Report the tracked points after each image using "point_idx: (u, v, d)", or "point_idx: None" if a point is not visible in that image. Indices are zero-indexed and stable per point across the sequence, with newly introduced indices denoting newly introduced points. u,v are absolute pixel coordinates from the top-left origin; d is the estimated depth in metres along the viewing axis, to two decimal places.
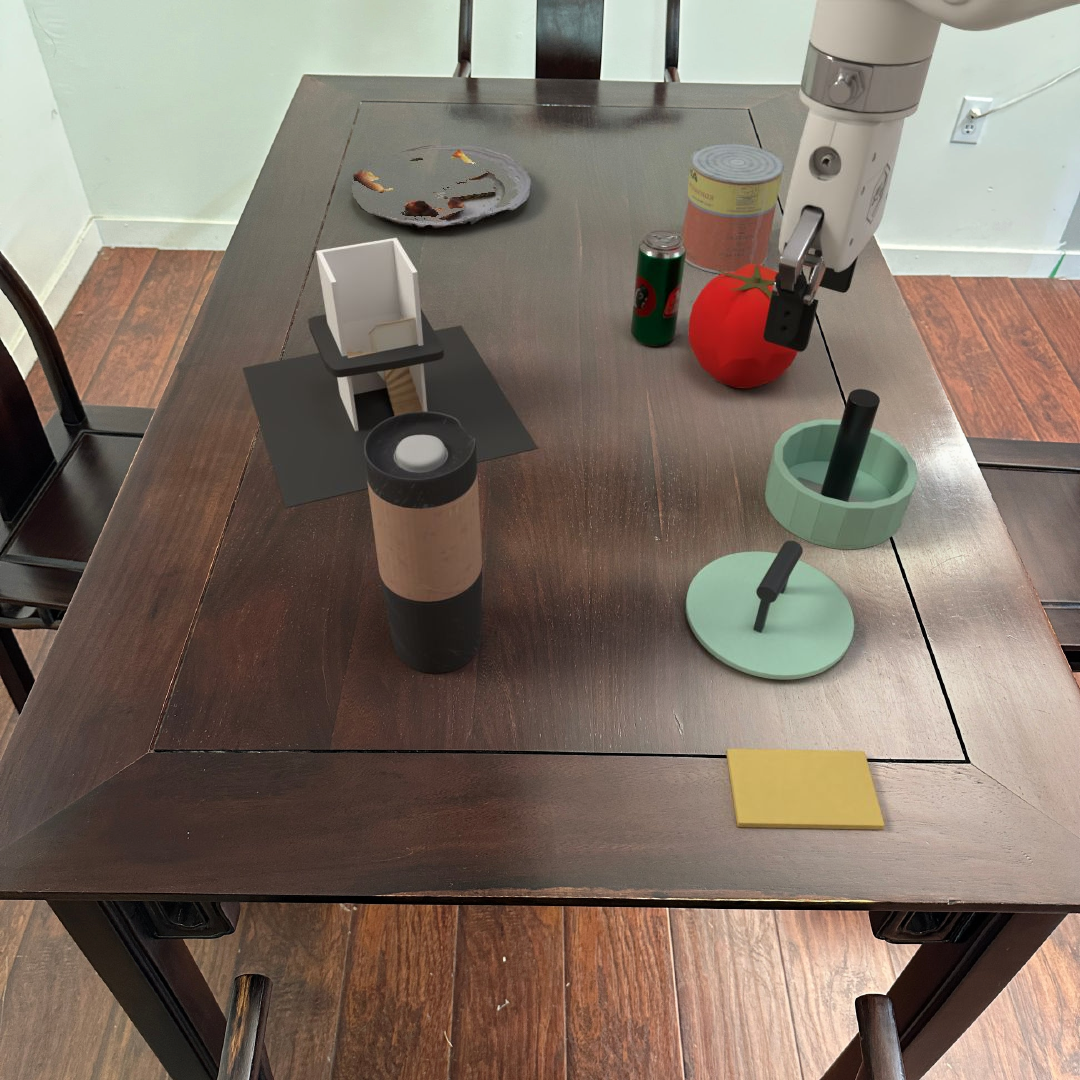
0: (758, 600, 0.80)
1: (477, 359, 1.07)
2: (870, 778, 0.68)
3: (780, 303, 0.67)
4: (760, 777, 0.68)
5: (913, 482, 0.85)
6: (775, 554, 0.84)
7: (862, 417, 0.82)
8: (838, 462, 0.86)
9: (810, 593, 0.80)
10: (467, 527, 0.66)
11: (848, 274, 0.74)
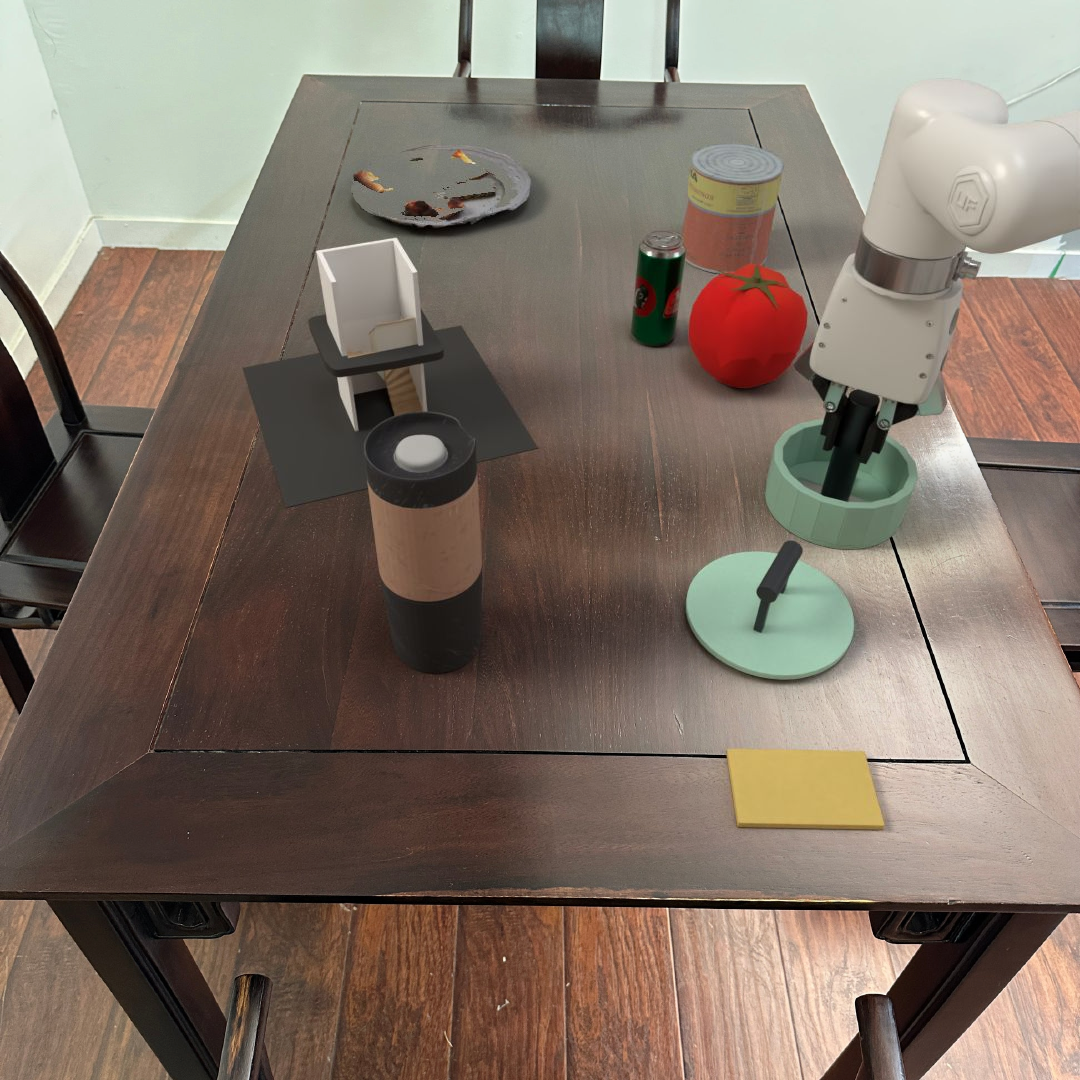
0: (758, 600, 0.80)
1: (477, 359, 1.07)
2: (870, 778, 0.68)
3: (886, 430, 0.82)
4: (760, 777, 0.68)
5: (913, 482, 0.85)
6: (775, 554, 0.84)
7: (863, 417, 0.82)
8: (838, 462, 0.86)
9: (810, 593, 0.80)
10: (467, 527, 0.66)
11: None
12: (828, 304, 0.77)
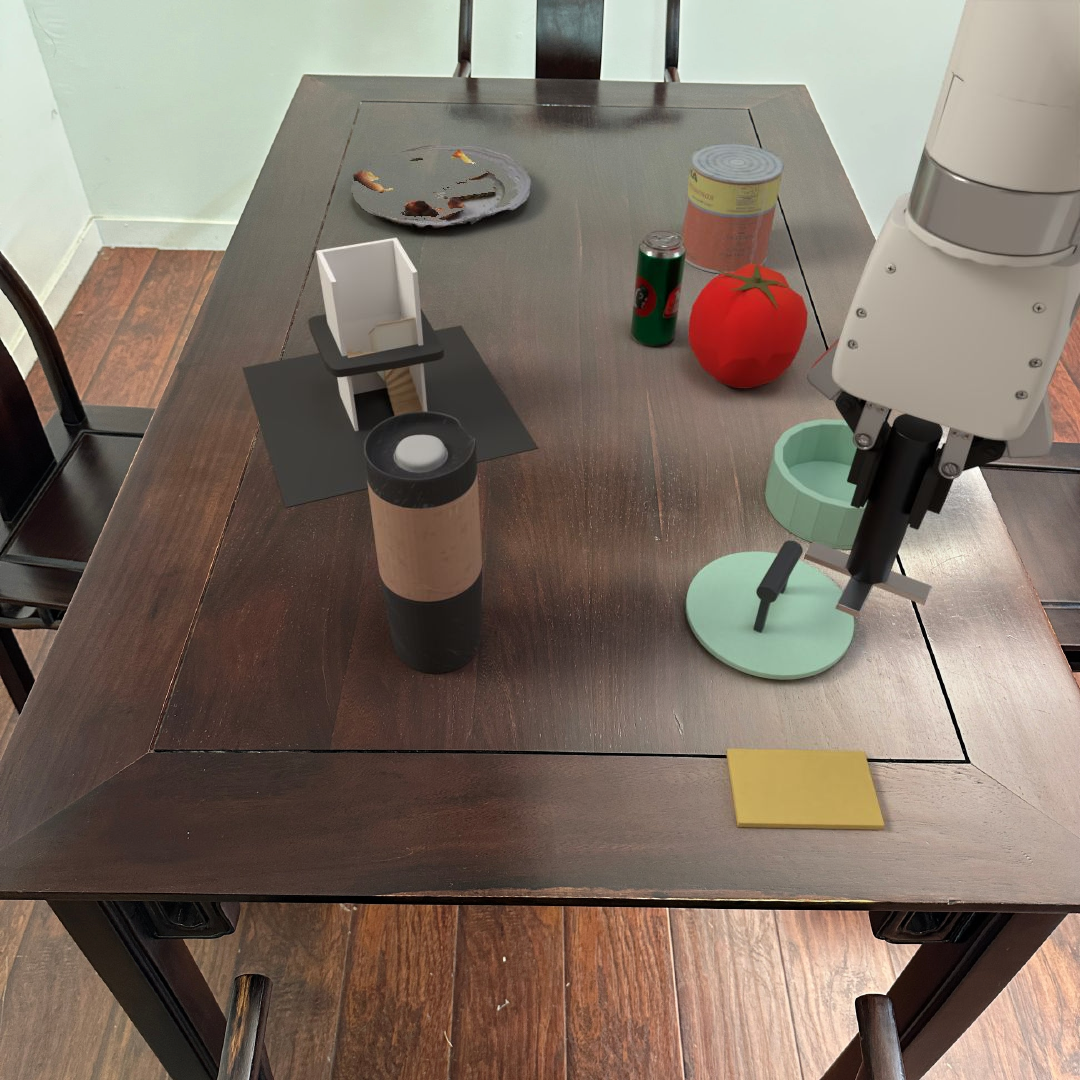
0: (758, 600, 0.80)
1: (477, 359, 1.07)
2: (870, 778, 0.68)
3: None
4: (760, 777, 0.68)
5: None
6: (775, 554, 0.84)
7: (915, 458, 0.52)
8: (874, 525, 0.56)
9: (810, 593, 0.80)
10: (467, 527, 0.66)
11: None
12: (864, 277, 0.47)
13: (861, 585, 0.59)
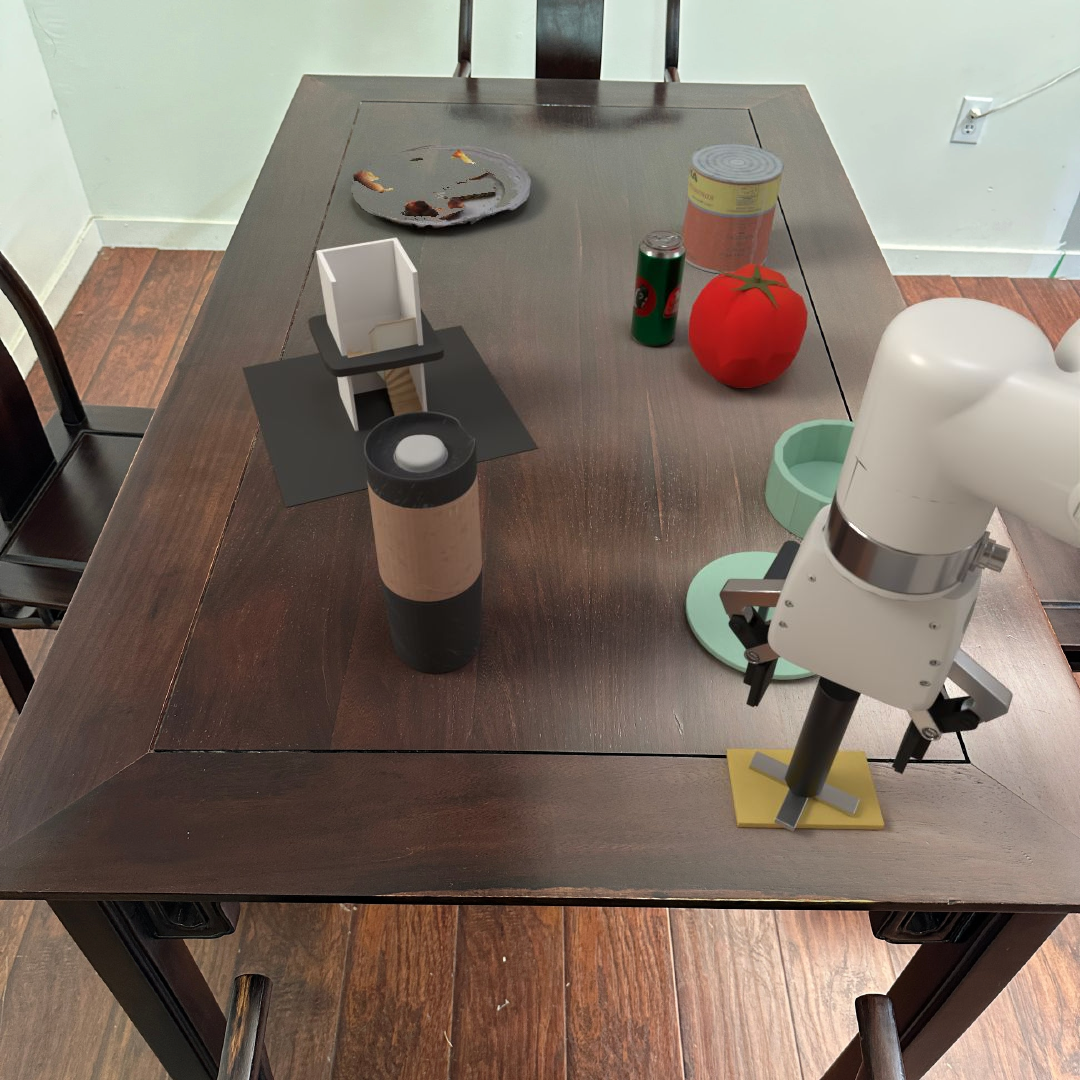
0: None
1: (477, 359, 1.07)
2: (870, 778, 0.68)
3: None
4: (760, 777, 0.68)
5: None
6: (775, 554, 0.84)
7: (838, 712, 0.60)
8: (806, 755, 0.64)
9: None
10: (467, 527, 0.66)
11: (776, 664, 0.64)
12: (790, 578, 0.54)
13: (797, 799, 0.67)
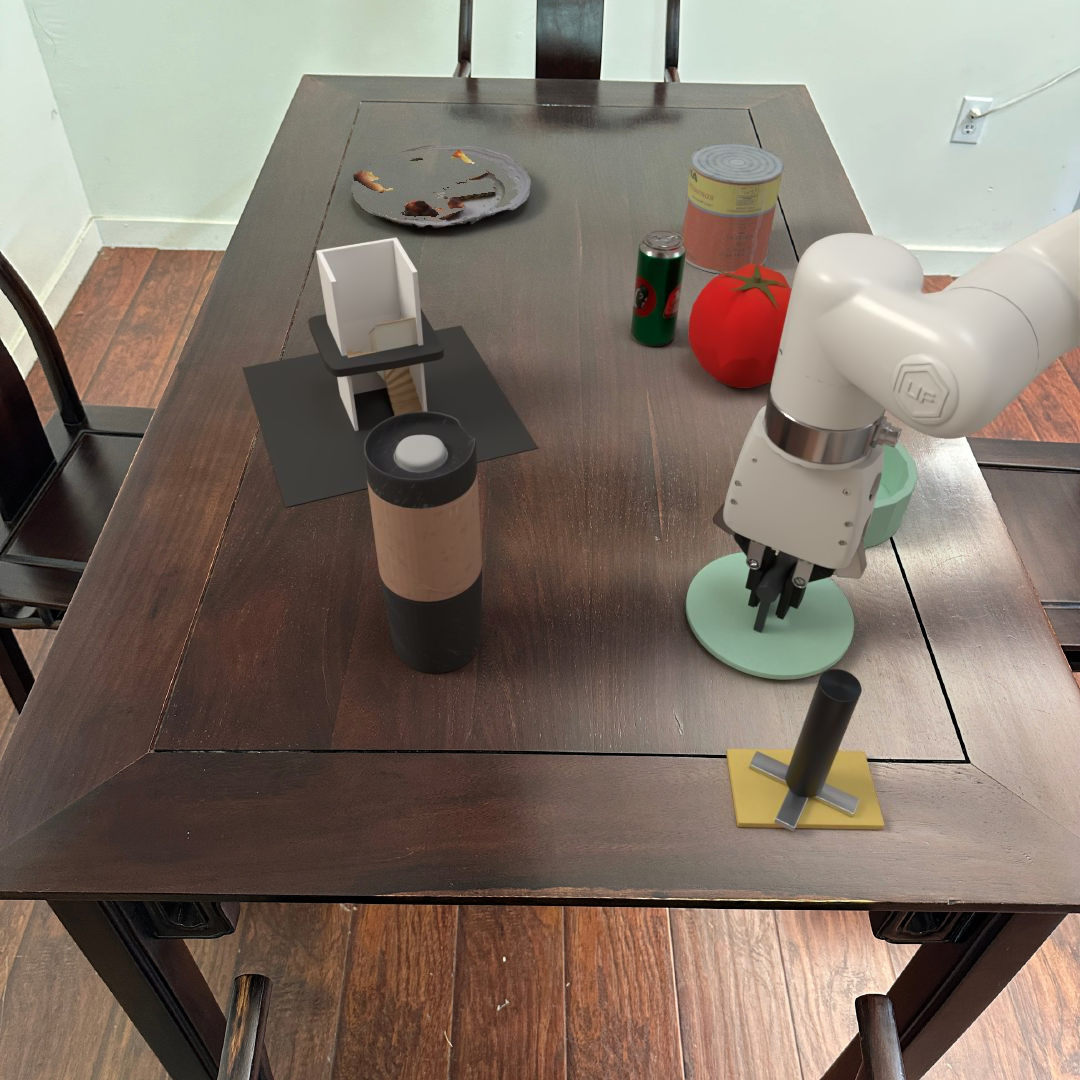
0: None
1: (477, 359, 1.07)
2: (870, 778, 0.68)
3: None
4: (760, 777, 0.68)
5: (913, 482, 0.85)
6: None
7: (838, 712, 0.60)
8: (806, 755, 0.64)
9: (810, 593, 0.80)
10: (467, 527, 0.66)
11: None
12: (738, 461, 0.69)
13: (797, 799, 0.67)
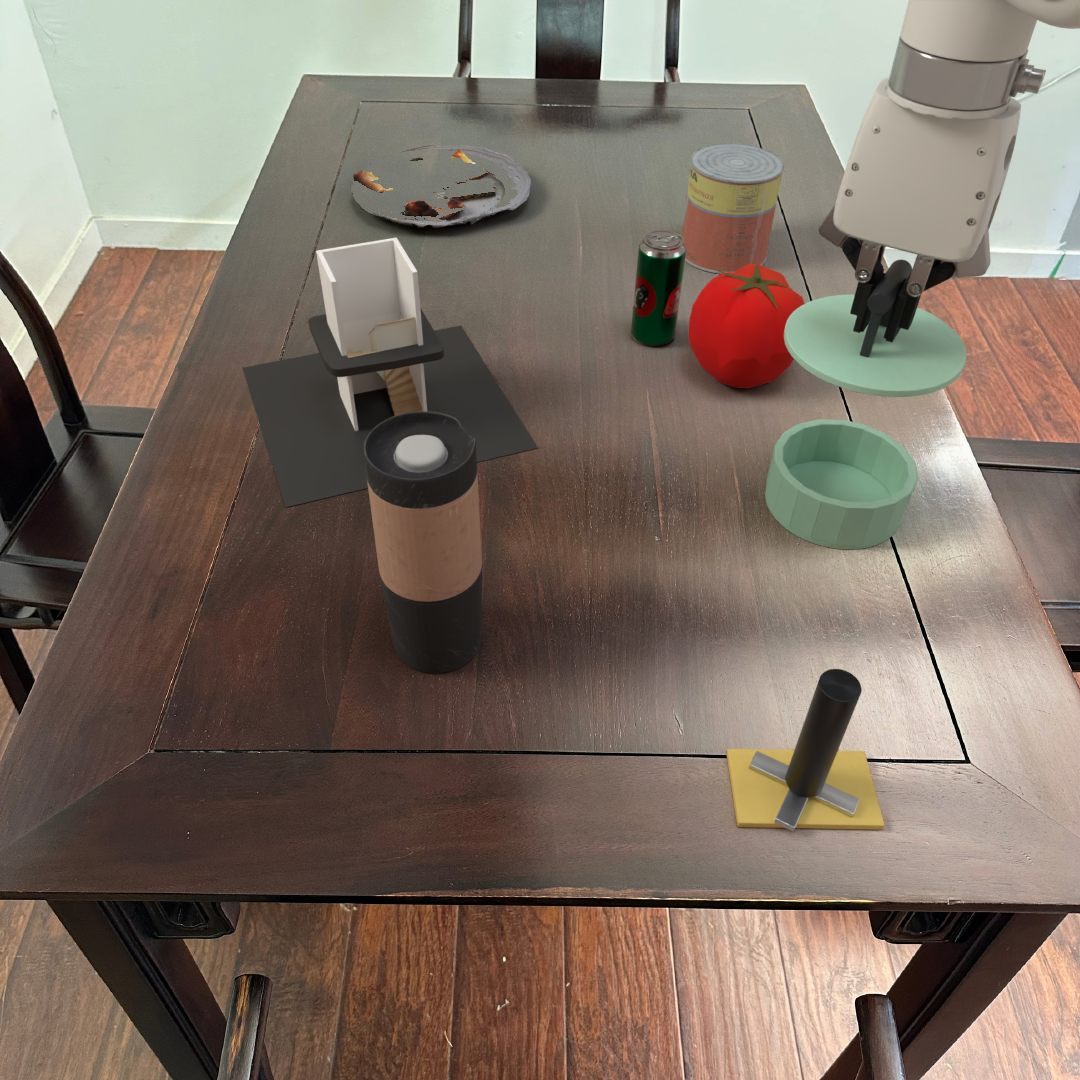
0: (861, 332, 0.75)
1: (477, 359, 1.07)
2: (870, 778, 0.68)
3: (917, 298, 0.70)
4: (760, 777, 0.68)
5: (913, 482, 0.85)
6: None
7: (838, 712, 0.60)
8: (806, 755, 0.64)
9: (916, 327, 0.76)
10: (467, 527, 0.66)
11: None
12: (857, 139, 0.64)
13: (797, 799, 0.67)
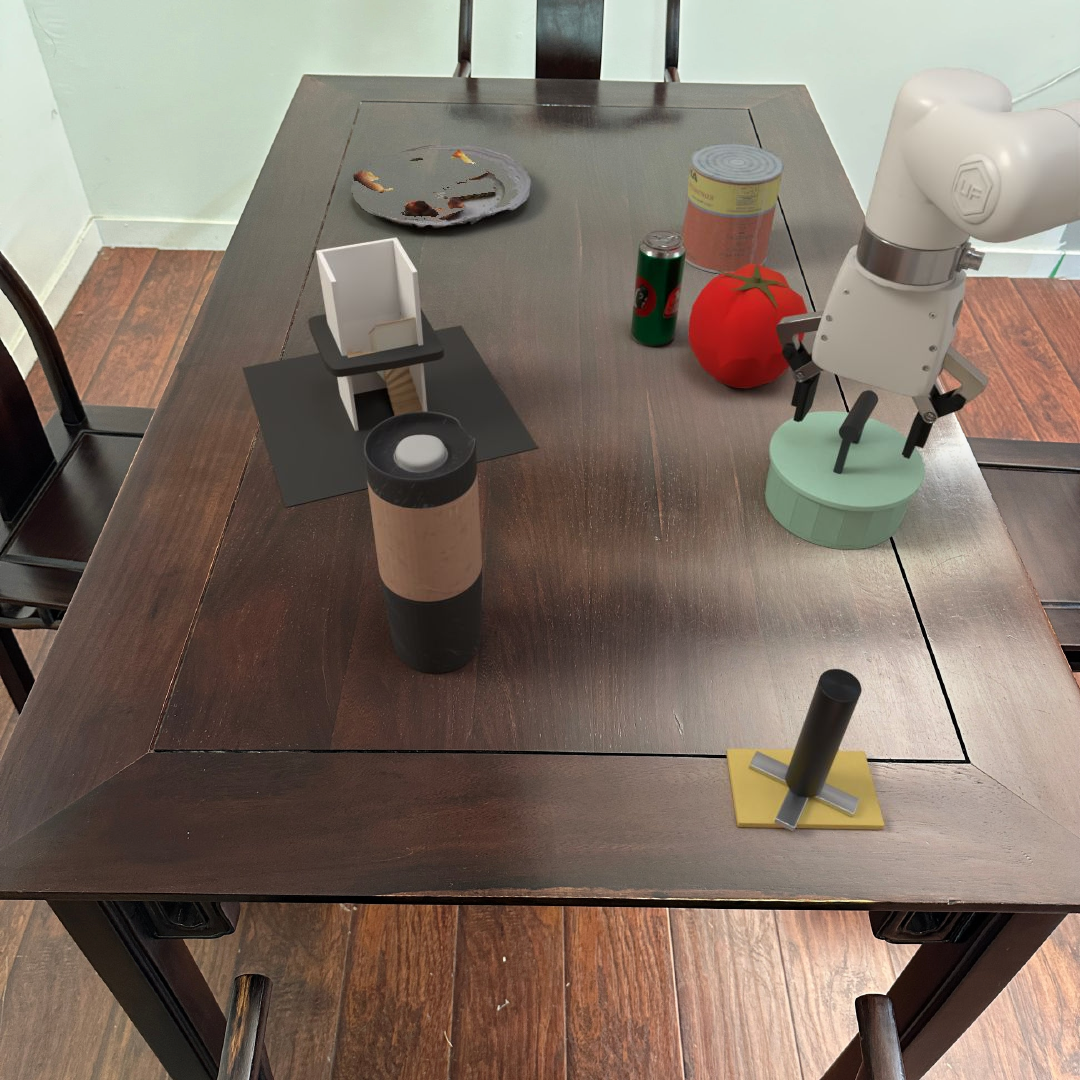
0: (835, 449, 0.87)
1: (477, 359, 1.07)
2: (870, 778, 0.68)
3: (932, 423, 0.80)
4: (760, 777, 0.68)
5: None
6: (848, 413, 0.91)
7: (838, 712, 0.60)
8: (806, 755, 0.64)
9: (882, 443, 0.88)
10: (467, 527, 0.66)
11: (815, 392, 0.86)
12: (830, 296, 0.76)
13: (797, 799, 0.67)
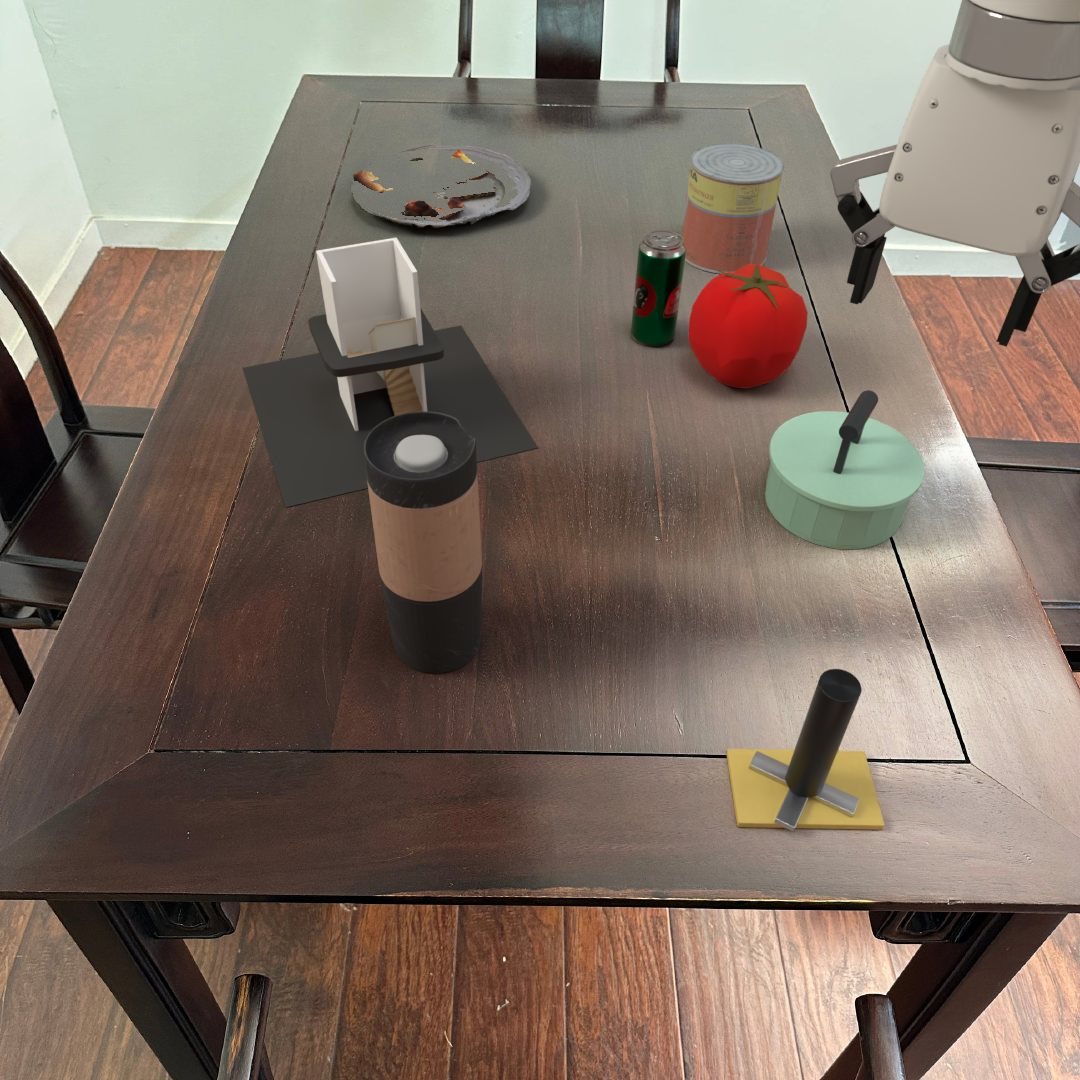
0: (835, 449, 0.87)
1: (477, 359, 1.07)
2: (870, 778, 0.68)
3: None
4: (760, 777, 0.68)
5: None
6: (848, 413, 0.91)
7: (838, 712, 0.60)
8: (806, 755, 0.64)
9: (882, 443, 0.88)
10: (467, 527, 0.66)
11: (878, 266, 0.66)
12: (910, 115, 0.56)
13: (797, 799, 0.67)
